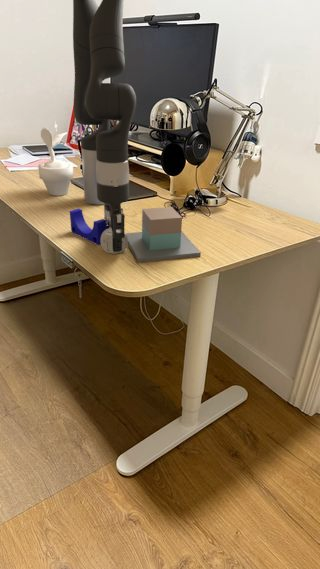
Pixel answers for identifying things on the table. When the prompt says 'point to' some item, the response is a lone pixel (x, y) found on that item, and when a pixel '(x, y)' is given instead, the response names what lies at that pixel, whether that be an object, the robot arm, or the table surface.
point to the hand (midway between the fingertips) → (114, 244)
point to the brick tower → (161, 237)
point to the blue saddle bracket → (86, 226)
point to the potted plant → (55, 167)
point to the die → (107, 241)
